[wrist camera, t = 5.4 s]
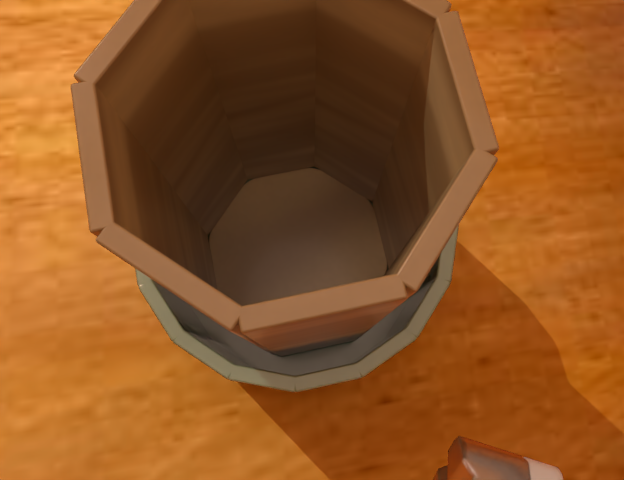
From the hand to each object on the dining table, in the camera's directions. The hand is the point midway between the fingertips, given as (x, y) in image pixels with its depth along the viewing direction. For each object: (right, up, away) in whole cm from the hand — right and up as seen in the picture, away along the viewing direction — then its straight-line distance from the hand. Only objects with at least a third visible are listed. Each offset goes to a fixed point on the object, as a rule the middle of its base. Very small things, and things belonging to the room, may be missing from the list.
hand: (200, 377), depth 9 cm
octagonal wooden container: (+1, +2, +11) cm, 11 cm away
